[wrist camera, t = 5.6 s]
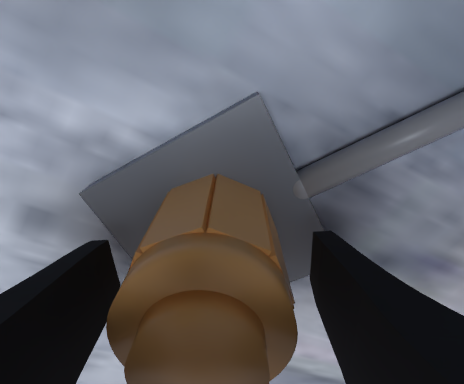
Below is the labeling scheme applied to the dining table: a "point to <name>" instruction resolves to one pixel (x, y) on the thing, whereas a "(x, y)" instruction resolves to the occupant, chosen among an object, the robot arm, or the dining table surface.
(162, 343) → the wire nut
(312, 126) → the dining table surface
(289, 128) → the dining table surface
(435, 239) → the dining table surface
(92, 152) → the dining table surface
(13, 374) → the robot arm
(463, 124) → the gray square paddle
